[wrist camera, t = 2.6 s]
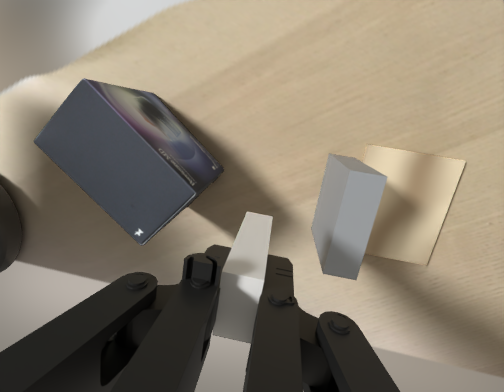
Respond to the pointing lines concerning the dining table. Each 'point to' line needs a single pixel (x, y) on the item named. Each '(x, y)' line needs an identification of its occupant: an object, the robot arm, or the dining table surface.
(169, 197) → the small box
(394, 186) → the cork mat
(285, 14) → the dining table surface
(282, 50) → the dining table surface
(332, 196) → the grey square slab
